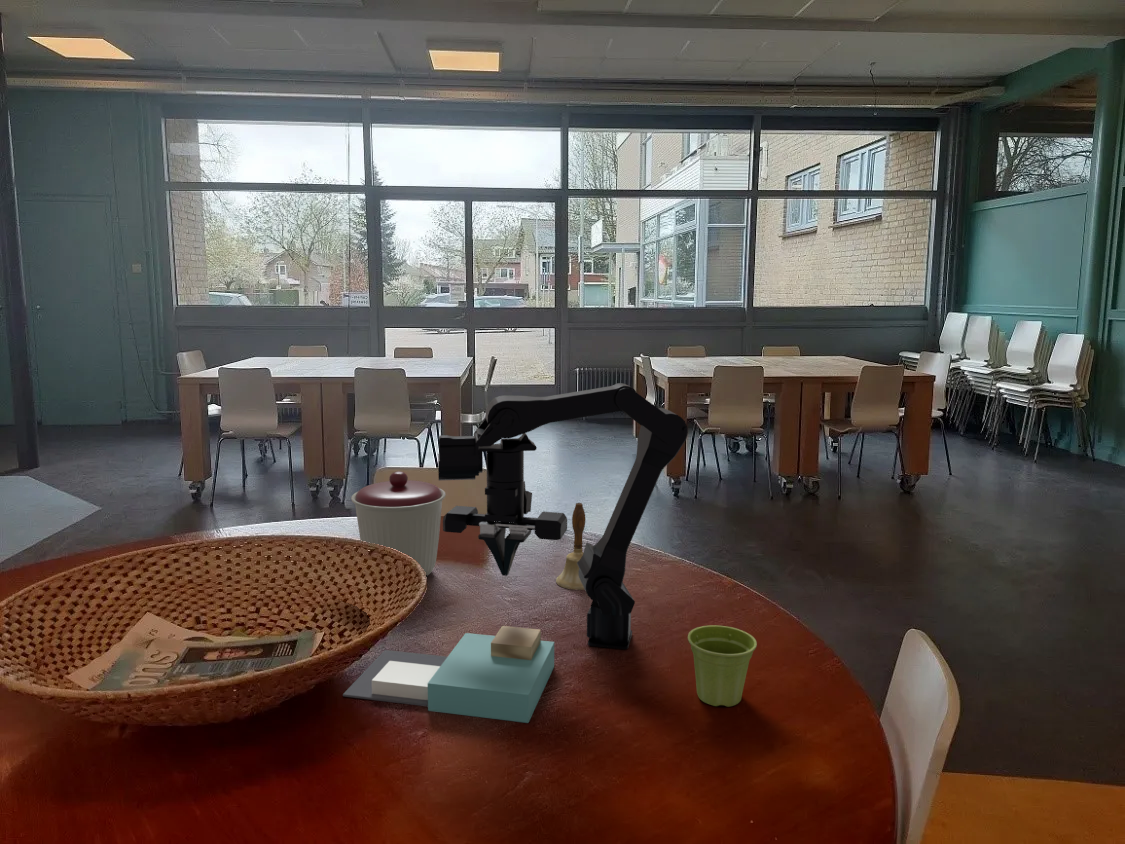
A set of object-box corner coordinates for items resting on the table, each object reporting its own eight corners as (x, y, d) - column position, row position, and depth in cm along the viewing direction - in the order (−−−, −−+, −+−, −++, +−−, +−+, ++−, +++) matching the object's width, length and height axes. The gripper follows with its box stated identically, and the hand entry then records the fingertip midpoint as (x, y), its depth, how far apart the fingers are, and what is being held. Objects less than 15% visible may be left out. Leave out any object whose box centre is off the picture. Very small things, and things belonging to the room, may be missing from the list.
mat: (463, 660, 120) (463, 658, 120) (430, 706, 107) (430, 704, 107) (385, 651, 123) (385, 649, 123) (342, 696, 110) (342, 694, 109)
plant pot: (710, 673, 117) (713, 619, 116) (766, 697, 110) (769, 639, 109) (672, 696, 110) (674, 638, 109) (728, 722, 104) (731, 661, 102)
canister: (335, 584, 151) (330, 477, 147) (387, 555, 168) (384, 458, 164) (417, 597, 145) (414, 486, 141) (462, 565, 161) (461, 466, 158)
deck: (554, 666, 119) (554, 641, 118) (528, 722, 103) (528, 694, 103) (466, 657, 121) (465, 633, 121) (428, 710, 106) (427, 683, 105)
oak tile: (540, 642, 118) (540, 629, 118) (531, 660, 112) (531, 647, 112) (502, 638, 119) (502, 625, 119) (490, 655, 113) (490, 643, 113)
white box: (447, 679, 114) (447, 667, 113) (432, 700, 108) (432, 687, 108) (389, 673, 116) (389, 660, 115) (372, 693, 110) (371, 680, 109)
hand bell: (606, 580, 154) (607, 501, 152) (584, 593, 147) (585, 511, 145) (570, 571, 159) (571, 495, 156) (547, 584, 152) (548, 504, 149)
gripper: (574, 470, 127) (573, 562, 129) (464, 464, 130) (465, 553, 133) (560, 486, 116) (559, 587, 118) (440, 479, 120) (442, 576, 122)
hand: (505, 574), depth 123 cm, fingers closed
